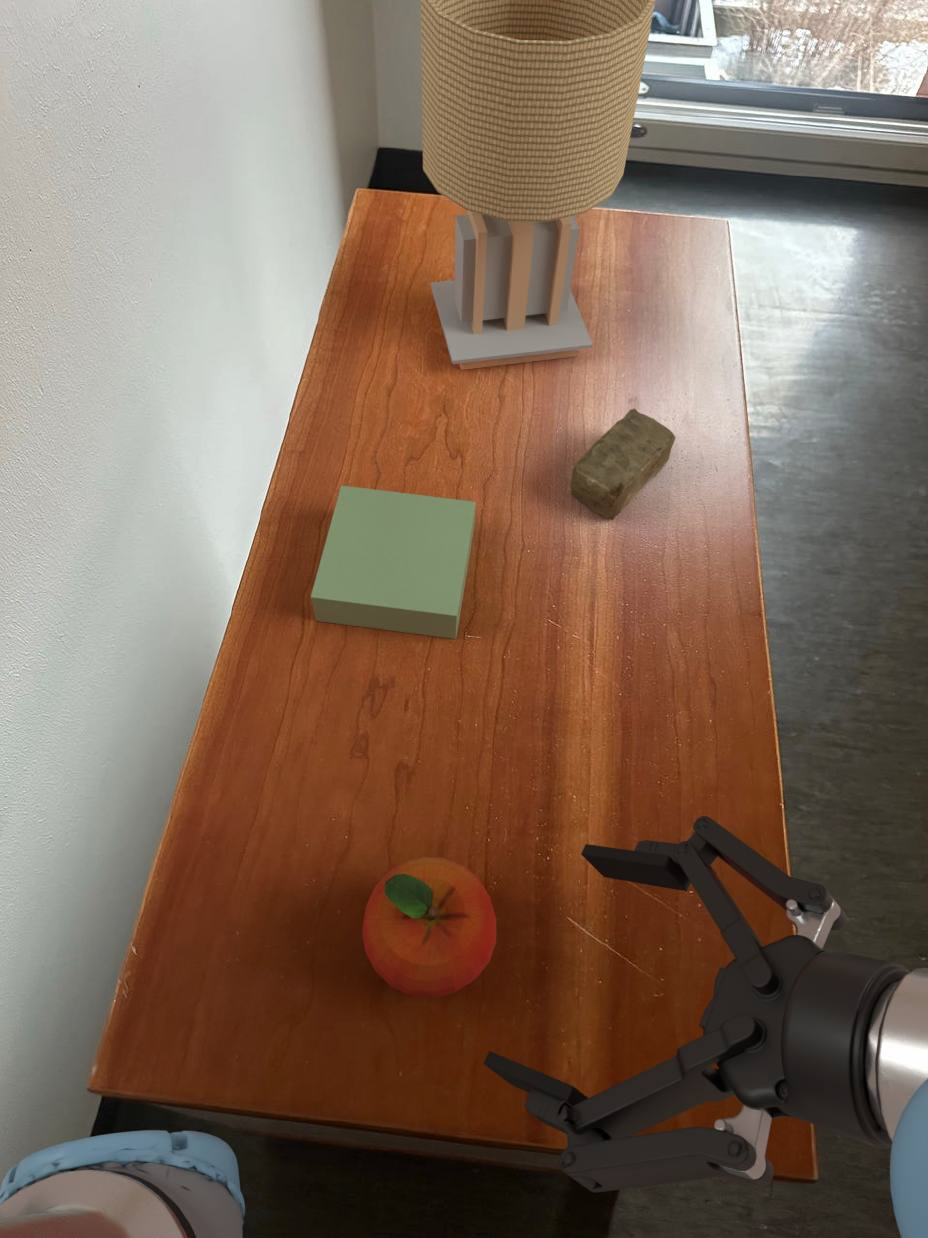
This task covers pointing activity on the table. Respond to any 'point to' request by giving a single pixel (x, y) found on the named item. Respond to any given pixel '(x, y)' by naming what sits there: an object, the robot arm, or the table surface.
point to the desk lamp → (524, 158)
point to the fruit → (429, 927)
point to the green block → (395, 562)
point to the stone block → (621, 463)
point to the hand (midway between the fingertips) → (549, 958)
